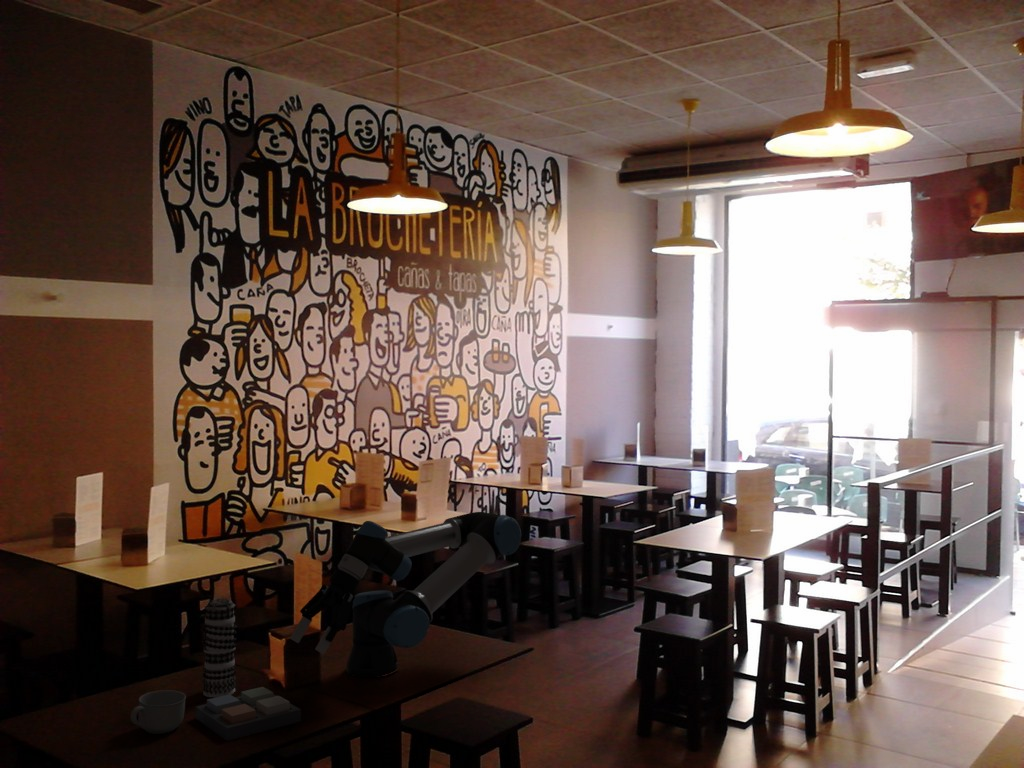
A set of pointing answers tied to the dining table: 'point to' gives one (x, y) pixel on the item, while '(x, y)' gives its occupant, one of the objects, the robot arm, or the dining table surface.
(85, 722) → the dining table surface
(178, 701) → the teacup
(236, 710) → the terracotta key
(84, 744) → the dining table surface
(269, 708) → the cream key
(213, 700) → the blue key
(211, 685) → the decorative candle
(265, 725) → the keypad frame
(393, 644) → the robot arm
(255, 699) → the sage key
